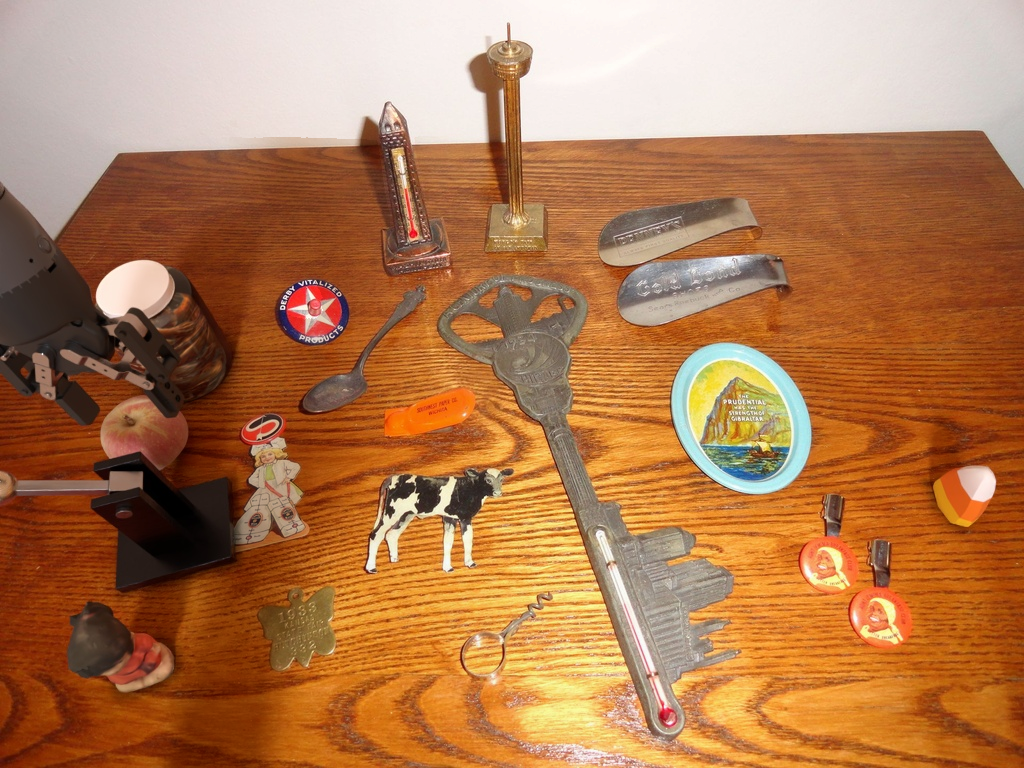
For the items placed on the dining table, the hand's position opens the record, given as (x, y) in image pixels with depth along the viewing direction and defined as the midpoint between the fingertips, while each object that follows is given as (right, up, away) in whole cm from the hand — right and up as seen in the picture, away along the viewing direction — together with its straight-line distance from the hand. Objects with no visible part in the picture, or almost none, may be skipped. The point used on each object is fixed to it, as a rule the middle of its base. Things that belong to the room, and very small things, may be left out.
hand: (134, 414), depth 61 cm
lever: (-9, -8, +4) cm, 13 cm away
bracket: (-4, -14, +16) cm, 22 cm away
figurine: (-3, -26, +8) cm, 27 cm away
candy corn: (+81, -11, +14) cm, 83 cm away
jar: (-9, +5, +30) cm, 31 cm away
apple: (-9, -6, +22) cm, 25 cm away
